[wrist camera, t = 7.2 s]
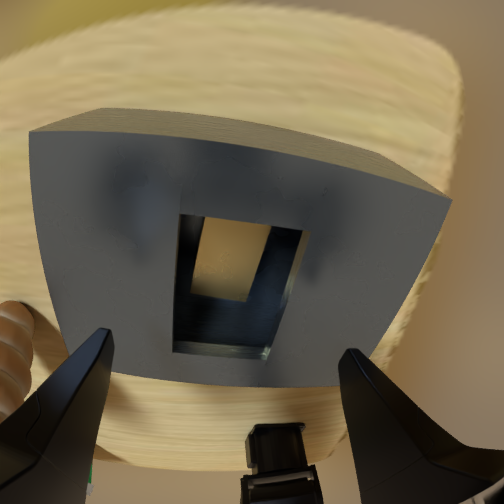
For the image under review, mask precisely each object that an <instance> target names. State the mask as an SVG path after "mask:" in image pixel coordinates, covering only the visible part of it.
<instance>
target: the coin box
mask: <svg viewBox="0 0 504 504" xmlns="http://www.w3.org/2000/svg"><path fill="white" fill-rule="evenodd" d="M29 164H30V180H31V192H32V202H33V210H34V218H35V225H36V232H37V238H38V243H39V249H40V254H41V259H42V264H43V268H44V273H45V277H46V281H47V285H48V289H49V293H50V297H51V300H52V304H53V308H54V311H55V314H56V318H57V321H58V324H59V327H60V330H61V333H62V336H63V339H64V342H65V345H66V348H67V350H68V353H69V356H70V355H71V354H72V353H73V352H74V351H76V350H77V349H78V348H79V347H80V346H81V345H82V344H83V343H84V342H85V341H86V340H87V339H88V338H89V337H90V336H91V335H92V334H93V333H94V332H95V331H96V330H97V329H98V328H101V327H102V328H108V329H111V331H112V334H113V340H114V345H115V350H114V356H113V362H112V369H111V372H116V373H122V374H127V375H133V376H140V377H146V378H153V379H160V380H168V381H176V382H186V383H196V384H207V385H221V386H238V387H274V388H290V387H326V386H340V382H339V373H338V363H339V360H340V359H341V357H342V355H343V354H344V352H345V350H346V349H348V348H358V349H359V350H360V351H361V352H362V353H363V354H364V355H365V356H366V357H367V358H369V357H370V355H371V354H372V352H373V351H374V349H375V348H376V346H377V345H378V343H379V342H380V340H381V339H382V337H383V335H384V334H385V332H386V331H387V329H388V327H389V326H390V324H391V323H392V321H393V319H394V318H395V316H396V314H397V313H398V311H399V309H400V307H401V306H402V304H403V302H404V300H405V299H406V297H407V295H408V293H409V292H410V290H411V288H412V286H413V284H414V282H415V280H416V279H417V277H418V275H419V273H420V271H421V269H422V267H423V265H424V263H425V261H426V259H427V257H428V255H429V253H430V251H431V249H432V246H433V244H434V242H435V240H436V238H437V236H438V233H439V231H440V229H441V227H442V224H443V222H444V220H445V217H446V215H447V212H448V210H449V207H450V205H451V202H452V199H451V198H449V197H448V196H446V195H445V194H443V193H442V192H440V191H439V190H437V189H436V188H435V187H433V186H432V185H430V184H428V183H427V182H425V181H424V180H422V179H421V178H419V177H418V176H416V175H414V174H413V173H411V172H410V171H408V170H406V169H405V168H403V167H401V166H400V165H398V164H396V163H395V162H393V161H391V160H389V159H388V158H386V157H384V156H382V155H381V154H378V153H375V152H372V151H369V150H365V149H362V148H359V147H355V146H352V145H348V144H345V143H341V142H337V141H334V140H330V139H326V138H322V137H318V136H314V135H310V134H306V133H301V132H297V131H293V130H288V129H283V128H278V127H273V126H268V125H263V124H258V123H252V122H246V121H241V120H234V119H228V118H221V117H214V116H206V115H198V114H190V113H180V112H169V111H157V110H142V109H120V108H100V109H96V110H93V111H89V112H86V113H82V114H79V115H75V116H72V117H69V118H66V119H63V120H60V121H57V122H54V123H51V124H48V125H46V126H43V127H40V128H37V129H35V130H32V131H30V132H29ZM203 217H211V218H219V219H226V220H234V221H241V222H248V223H256V224H263V225H270V226H271V229H270V232H269V235H268V238H267V241H266V244H265V247H264V250H263V253H262V256H261V259H260V262H259V265H258V268H257V271H256V274H255V277H254V279H253V282H252V285H251V288H250V291H249V294H248V297H247V300H246V302H242V301H235V300H229V299H223V298H217V297H211V296H205V295H199V294H193V293H190V288H191V280H192V273H193V265H194V259H195V254H196V249H197V244H198V239H199V234H200V229H201V225H202V220H203Z"/></svg>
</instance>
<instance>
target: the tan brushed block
mask: <svg viewBox="0 0 504 504" xmlns="http://www.w3.org/2000/svg"><path fill="white" fill-rule="evenodd" d="M270 229H271V226H270V225H263V224H256V223H248V222H241V221H234V220H226V219H219V218H211V217H203V220H202V225H201V229H200V234H199V239H198V244H197V249H196V254H195V259H194V265H193V273H192V280H191V288H190V293H193V294H199V295H205V296H211V297H217V298H223V299H229V300H235V301H242V302H246V300H247V297H248V294H249V291H250V288H251V285H252V282H253V279H254V277H255V274H256V271H257V268H258V265H259V262H260V259H261V256H262V253H263V250H264V247H265V244H266V241H267V238H268V235H269V232H270Z"/></svg>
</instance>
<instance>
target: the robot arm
mask: <svg viewBox="0 0 504 504" xmlns="http://www.w3.org/2000/svg"><path fill="white" fill-rule="evenodd" d="M114 350H115V345H114V340H113V334H112V331H111V329H108V328H102V327H101V328H98V329H97V330H96V331H95V332H94V333H93V334H92V335H91V336H90V337H89V338H88V339H87V340H86V341H85V342H84V343H83V344H82V345H81V346H80V347H79V348H78V349H77V350H76V351H74V352H73V353H72V354H71V355H70V356H69V357H68V358H67V359H66V360H65V361H64V362H63V363H62V364H61V365H60V366H59V367H58V368H57V369H56V370H55V371H54V372H53V373H52V374H51V375H50V376H49V377H48V378H47V379H46V380H45V381H44V382H43V383H42V385H41V386H40V387H39V388H38V389H37V391H35V392H34V393H33V394H32V395H31V396H30V397H29V398H28V399H27V400H26V401H25V402H24V403H23V404H22V405H21V406H20V407H19V408H17V409H16V410H15V411H14V412H13V413H12V414H11V415H9V416H8V417H7V418H6V419H5V420H3V421H2V422H1V423H0V504H85V499H86V493H87V492H86V491H87V486H88V480H89V474H90V469H91V463H92V458H93V453H94V448H95V443H96V439H97V434H98V430H99V425H100V421H101V417H102V413H103V409H104V405H105V401H106V397H107V393H108V388H109V382H110V375H111V369H112V362H113V356H114ZM338 373H339V382H340V391H341V399H342V405H343V410H344V414H345V419H346V424H347V428H348V433H349V438H350V443H351V448H352V453H353V458H354V463H355V468H356V474H357V479H358V485H359V491H360V493H361V494H360V497H361V503H362V504H504V450H494V449H483V448H475V447H469V446H466V445H464V444H462V443H461V442H459V441H458V440H457V439H456V438H454V437H453V436H452V435H450V434H449V433H448V432H447V431H445V430H444V429H443V428H442V427H440V426H439V425H438V424H437V423H436V422H434V421H433V420H432V419H431V418H430V417H429V416H428V415H427V414H426V413H425V412H423V410H421V409H420V408H419V407H418V406H417V405H416V404H415V403H414V402H413V401H412V400H411V399H410V398H409V397H408V396H407V395H406V394H405V393H404V392H403V391H402V390H401V389H400V388H399V387H398V386H396V384H394V383H393V382H392V381H391V380H390V379H389V378H388V377H387V376H386V375H385V374H384V373H383V372H382V371H381V370H380V369H379V368H378V367H377V366H376V365H375V364H374V363H373V362H372V361H371V360H370V359H369V358H367V357H366V356H365V355H364V354H363V353H362V352H361V351H360V350H359V349H358V348H348V349H346V350H345V352H344V354H343V355H342V357H341V359H340V360H339V363H338ZM304 428H305V424H304V423H299V424H273V425H255V426H254V428H253V430H252V432H251V433H250V434H249V435H248V437H247V439H246V441H245V449H246V460H247V467H248V468H252V475H243V478H241V479H240V480H241V499H240V504H324V503H323V496H322V491H321V487H320V483H319V479H318V475H317V471H316V467H315V464H314V465H311V466H308V464H307V459H306V454H305V449H304V444H303V439H302V434H301V432H302V431H303V430H304ZM307 478H311V480H308V479H307Z"/></svg>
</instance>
